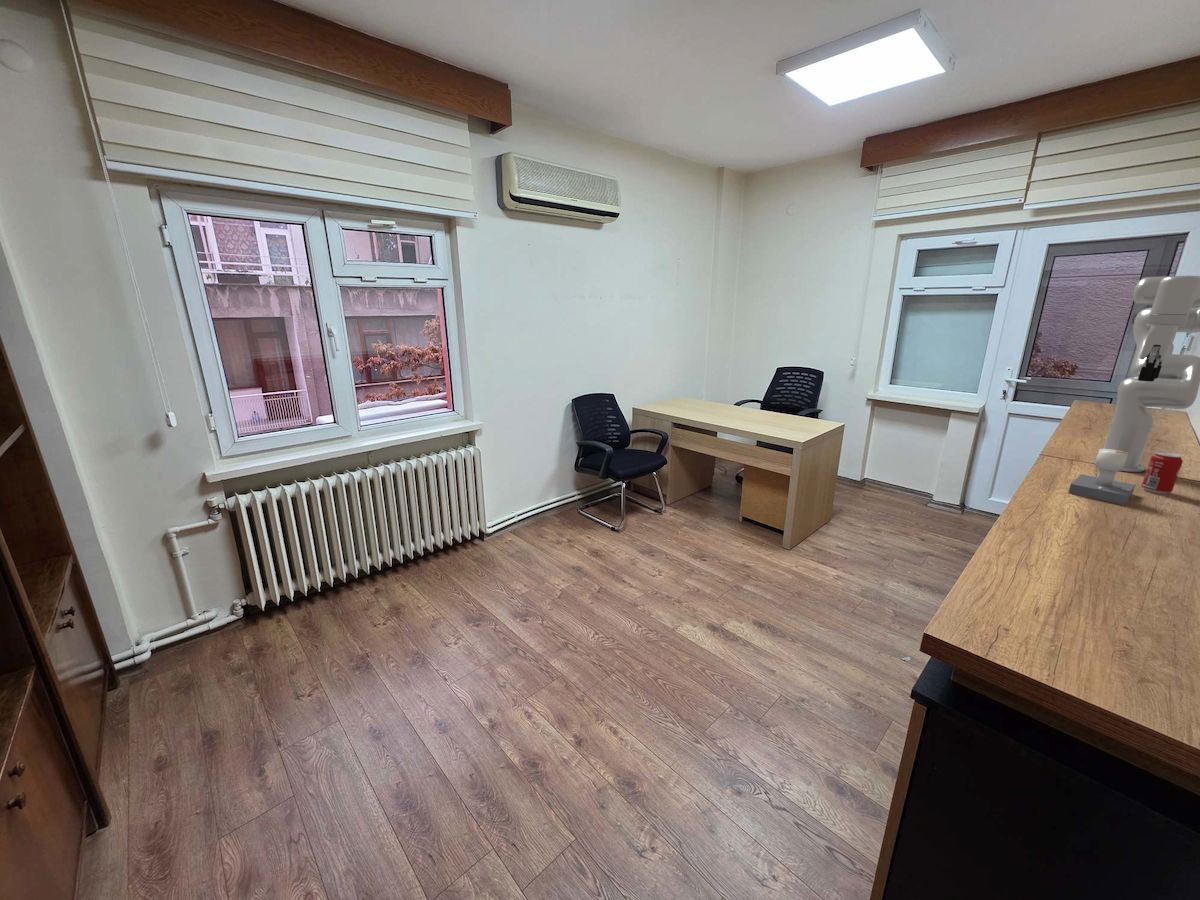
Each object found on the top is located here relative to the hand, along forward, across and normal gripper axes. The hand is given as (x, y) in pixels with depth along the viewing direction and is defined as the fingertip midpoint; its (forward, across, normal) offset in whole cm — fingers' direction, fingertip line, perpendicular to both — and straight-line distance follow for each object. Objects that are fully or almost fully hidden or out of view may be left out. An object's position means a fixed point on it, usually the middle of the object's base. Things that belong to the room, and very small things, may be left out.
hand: (1147, 379), depth 145 cm
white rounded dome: (+25, +16, -1) cm, 30 cm away
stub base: (+33, +16, -1) cm, 37 cm away
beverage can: (+34, 0, +9) cm, 35 cm away
